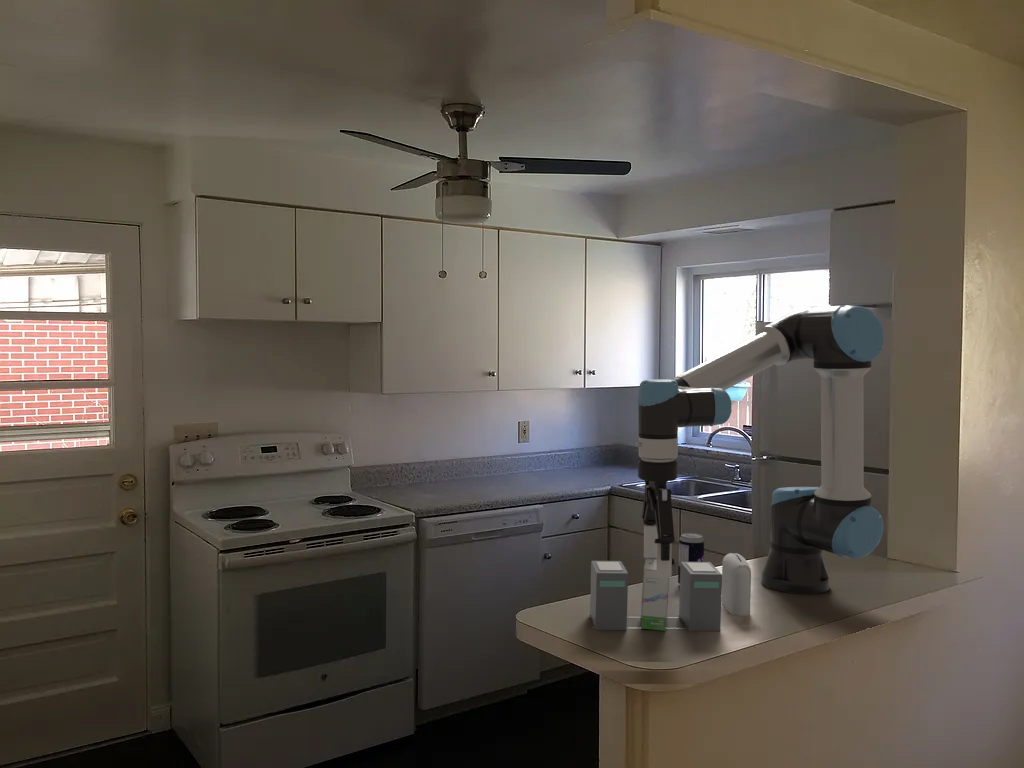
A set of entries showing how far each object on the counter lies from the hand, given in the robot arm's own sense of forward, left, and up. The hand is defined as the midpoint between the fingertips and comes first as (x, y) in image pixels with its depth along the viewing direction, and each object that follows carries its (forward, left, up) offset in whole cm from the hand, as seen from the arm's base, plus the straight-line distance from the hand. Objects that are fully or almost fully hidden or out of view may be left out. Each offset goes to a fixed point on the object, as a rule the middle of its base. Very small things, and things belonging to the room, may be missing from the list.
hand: (657, 566), depth 168 cm
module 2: (-9, 0, -11) cm, 14 cm away
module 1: (+9, 0, -11) cm, 15 cm away
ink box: (0, +1, -11) cm, 11 cm away
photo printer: (-19, -10, -13) cm, 24 cm away
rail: (0, 0, -12) cm, 12 cm away
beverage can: (-14, -29, -13) cm, 34 cm away
